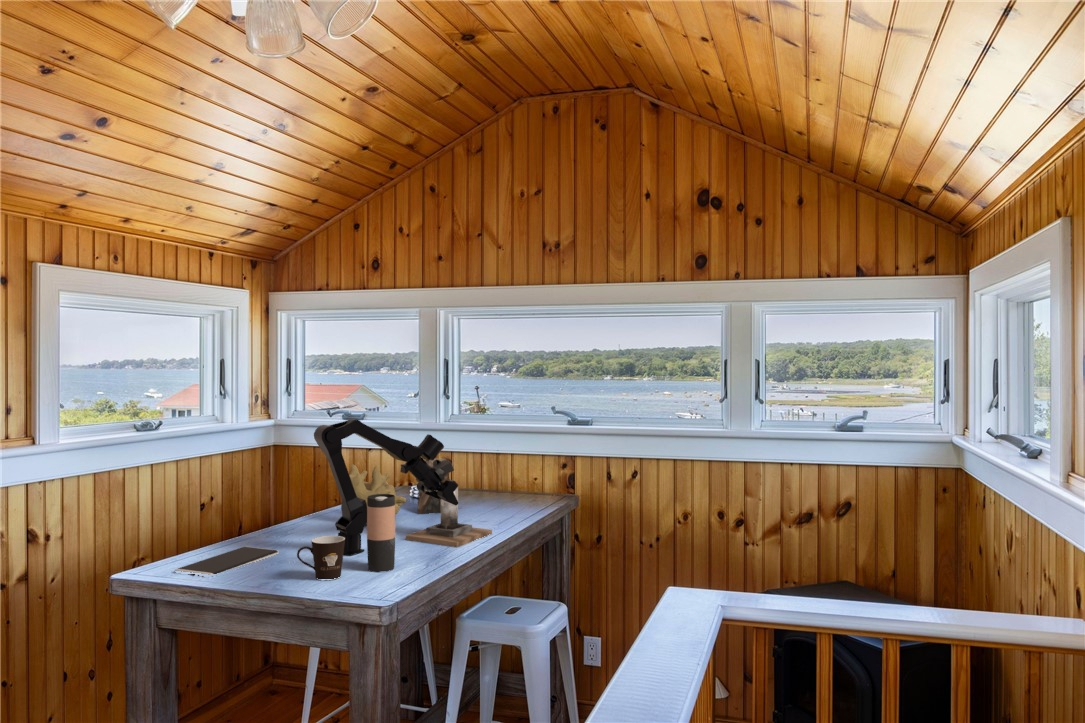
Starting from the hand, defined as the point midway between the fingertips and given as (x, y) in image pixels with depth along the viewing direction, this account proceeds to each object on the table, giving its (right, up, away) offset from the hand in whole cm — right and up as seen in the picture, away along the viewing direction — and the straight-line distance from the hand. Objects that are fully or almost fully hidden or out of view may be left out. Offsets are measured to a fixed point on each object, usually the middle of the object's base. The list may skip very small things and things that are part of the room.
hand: (452, 502), depth 250 cm
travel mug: (-15, -11, -38) cm, 43 cm away
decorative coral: (-31, -11, +26) cm, 42 cm away
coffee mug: (-29, -11, -47) cm, 56 cm away
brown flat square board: (-1, -11, -1) cm, 11 cm away
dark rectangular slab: (-60, -12, -32) cm, 69 cm away
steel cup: (-1, -7, -1) cm, 7 cm away
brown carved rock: (-14, -11, +42) cm, 45 cm away
